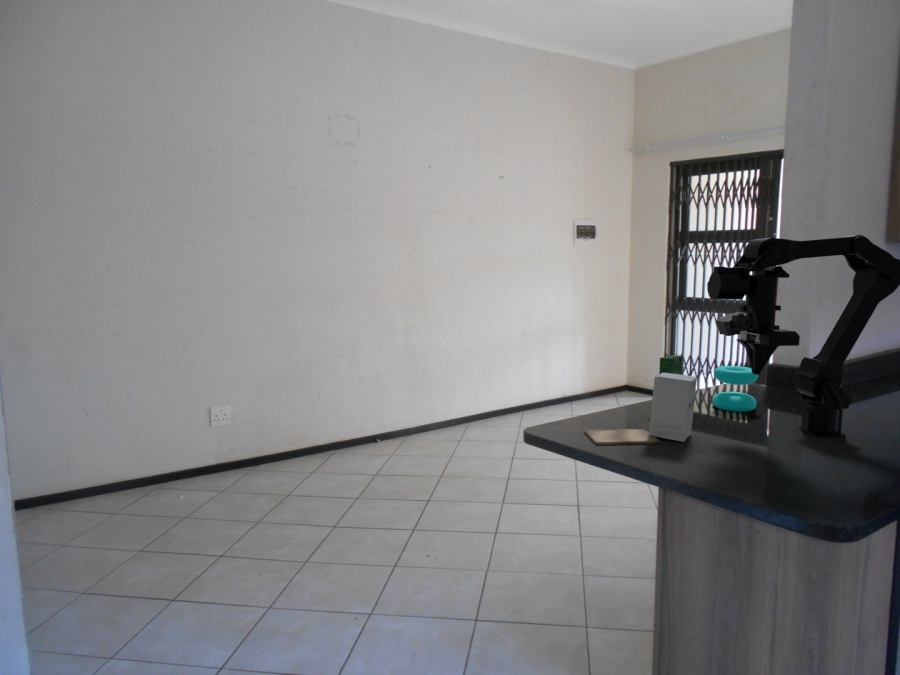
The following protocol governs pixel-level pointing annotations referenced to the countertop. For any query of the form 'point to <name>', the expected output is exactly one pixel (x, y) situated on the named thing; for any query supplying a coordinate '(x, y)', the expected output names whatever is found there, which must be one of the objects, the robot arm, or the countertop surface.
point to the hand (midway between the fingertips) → (755, 374)
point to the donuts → (735, 399)
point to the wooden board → (621, 436)
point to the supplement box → (672, 406)
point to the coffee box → (671, 364)
